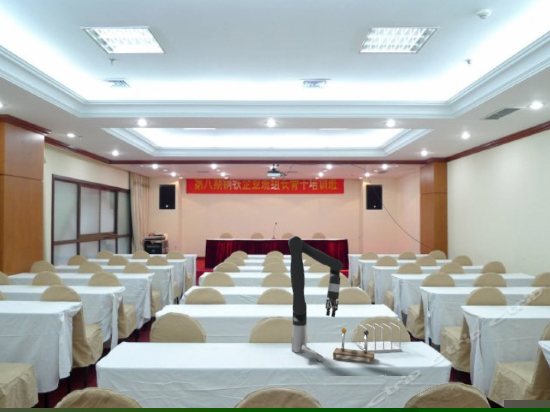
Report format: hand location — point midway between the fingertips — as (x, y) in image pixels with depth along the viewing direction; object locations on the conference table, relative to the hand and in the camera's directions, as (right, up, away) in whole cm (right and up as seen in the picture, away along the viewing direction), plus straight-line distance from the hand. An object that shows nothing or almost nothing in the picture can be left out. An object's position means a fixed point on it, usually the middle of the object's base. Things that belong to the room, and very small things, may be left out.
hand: (330, 316), depth 264 cm
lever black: (+20, -19, -13) cm, 31 cm away
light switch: (-13, -23, -13) cm, 30 cm away
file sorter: (+34, -25, +10) cm, 43 cm away
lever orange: (+6, -19, -9) cm, 22 cm away
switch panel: (+13, -23, -11) cm, 29 cm away
